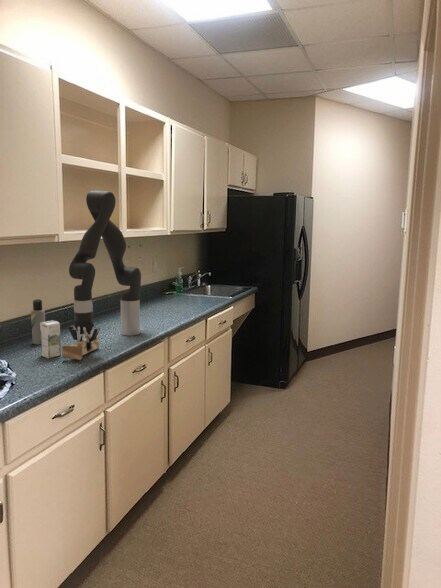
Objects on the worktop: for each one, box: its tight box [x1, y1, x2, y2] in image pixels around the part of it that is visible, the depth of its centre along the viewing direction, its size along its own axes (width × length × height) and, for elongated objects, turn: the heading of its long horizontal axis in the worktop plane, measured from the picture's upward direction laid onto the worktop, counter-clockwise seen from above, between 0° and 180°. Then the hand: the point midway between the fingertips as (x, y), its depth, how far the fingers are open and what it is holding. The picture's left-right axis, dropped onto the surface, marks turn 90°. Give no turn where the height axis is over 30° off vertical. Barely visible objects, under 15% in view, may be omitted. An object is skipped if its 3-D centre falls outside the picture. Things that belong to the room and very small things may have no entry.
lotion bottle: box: [30, 298, 46, 346], centre depth 206 cm, size 6×6×20 cm
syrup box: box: [40, 320, 62, 359], centre depth 188 cm, size 6×6×14 cm
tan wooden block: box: [61, 336, 100, 361], centre depth 192 cm, size 20×8×5 cm, turn 167°
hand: (84, 349), depth 193 cm, fingers closed on tan wooden block, 3 cm apart
